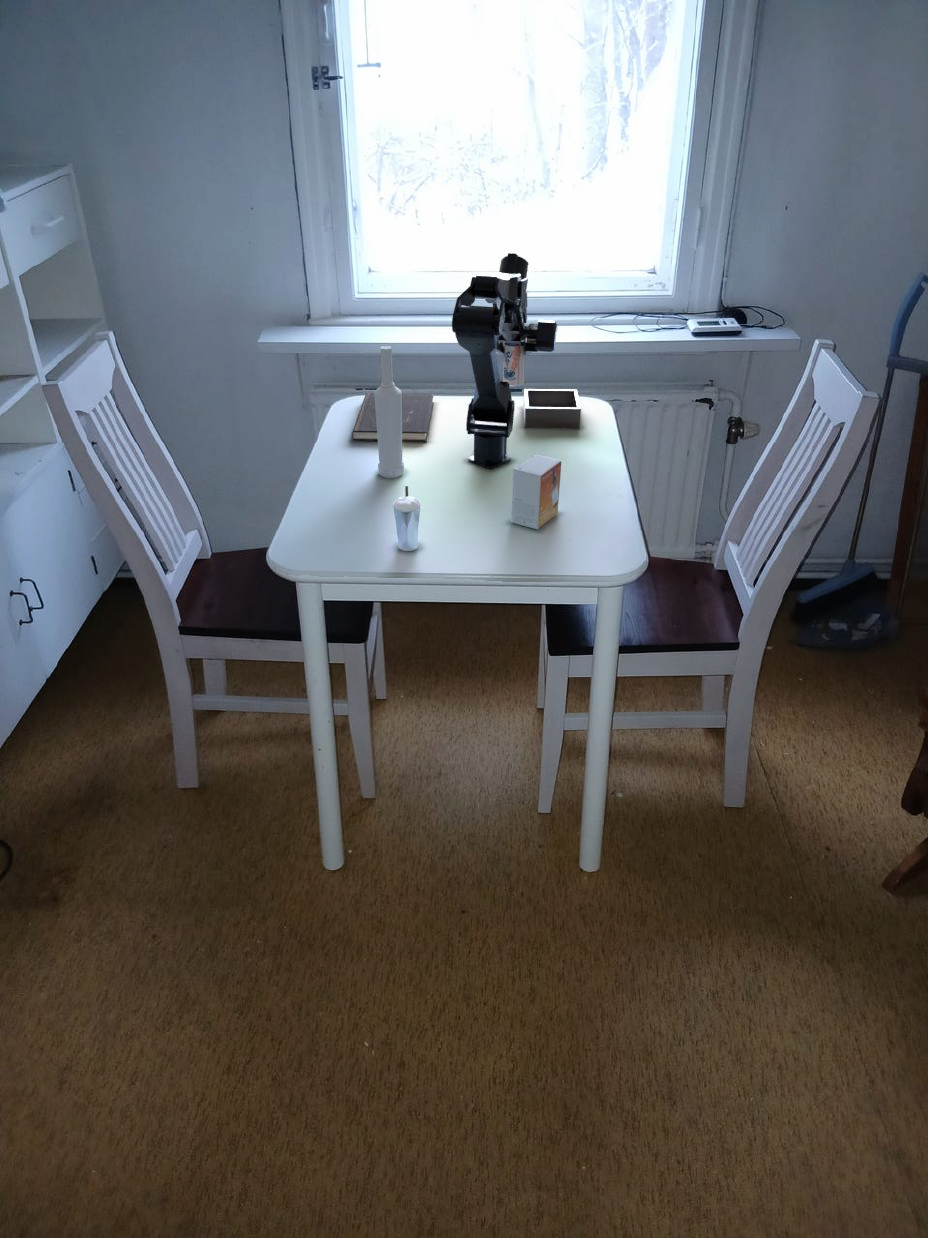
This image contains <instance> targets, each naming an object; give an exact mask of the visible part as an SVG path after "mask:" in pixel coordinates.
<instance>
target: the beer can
mask: <svg viewBox="0 0 928 1238" xmlns="http://www.w3.org/2000/svg"><path fill="white" fill-rule="evenodd" d="M525 346H526V339H525V341H524V342H522V341H521V344H516V343H504V354H503V367H502V381H504V382H508V383H509V384H510V388H511V387H512V388H513V387H514V388H516V387H520V386H522V385H523V384H524V383H525V372H526V356H525Z"/></svg>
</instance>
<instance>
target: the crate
mask: <svg viewBox="0 0 928 1238" xmlns="http://www.w3.org/2000/svg"><path fill="white" fill-rule="evenodd" d="M522 405H523V407H522V408H523V409H522V410H523V424H524V428H525V429H580V428H581V415H582V407H581V402H580V397H579V393H578V389H551V388H550V389H545V388H543V389H542V388H540V389H538V388H524V389H523V403H522Z"/></svg>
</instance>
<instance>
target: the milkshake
mask: <svg viewBox="0 0 928 1238" xmlns="http://www.w3.org/2000/svg"><path fill="white" fill-rule="evenodd" d="M404 486H405V487H404V492H405V493H404V494H405V496H399V497H398V498H396V499H395V500H394V501H393V503H392V508H393V514H394V521H395V526H396V537H397V543H398V549H399V550H401V551H403V552H413V551H415V550H417V549H418V546H419V545H418V544H419V543H418V542H419V541H418V540H419V526H420V525H419V524H420V516H421V515H420V513H421V501H420V500H419V499H418V498H415V497H414V496H409V486H408V485H404Z"/></svg>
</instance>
